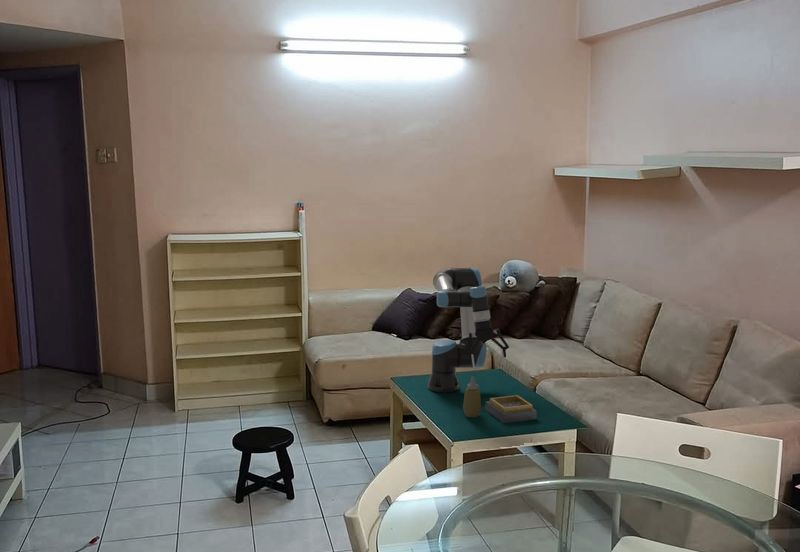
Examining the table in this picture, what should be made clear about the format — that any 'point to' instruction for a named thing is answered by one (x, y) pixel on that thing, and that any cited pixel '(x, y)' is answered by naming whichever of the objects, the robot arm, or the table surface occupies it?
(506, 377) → the table surface
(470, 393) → the squeeze bottle
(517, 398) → the square gold-rimmed tray
